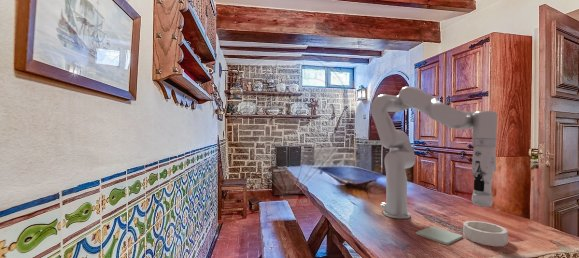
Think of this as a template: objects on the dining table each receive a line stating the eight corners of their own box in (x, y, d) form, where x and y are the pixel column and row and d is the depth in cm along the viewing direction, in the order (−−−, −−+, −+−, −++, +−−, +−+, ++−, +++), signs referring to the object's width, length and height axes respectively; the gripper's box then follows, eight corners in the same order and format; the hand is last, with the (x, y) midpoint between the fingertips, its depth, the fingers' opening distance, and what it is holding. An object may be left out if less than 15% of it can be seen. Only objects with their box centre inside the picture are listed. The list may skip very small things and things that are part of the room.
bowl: (457, 236, 104) (457, 225, 104) (472, 229, 111) (472, 218, 111) (498, 249, 93) (498, 236, 93) (512, 240, 100) (512, 228, 100)
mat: (415, 234, 106) (415, 232, 106) (431, 228, 113) (431, 226, 113) (447, 245, 96) (447, 242, 96) (462, 237, 103) (462, 235, 103)
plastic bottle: (467, 203, 106) (469, 153, 105) (483, 203, 106) (485, 153, 106) (480, 208, 99) (482, 155, 99) (497, 208, 100) (499, 155, 99)
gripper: (486, 144, 94) (484, 195, 95) (504, 143, 104) (502, 189, 104) (462, 142, 101) (461, 190, 101) (482, 142, 110) (480, 185, 111)
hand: (482, 189), depth 103 cm, fingers closed on plastic bottle, 5 cm apart
